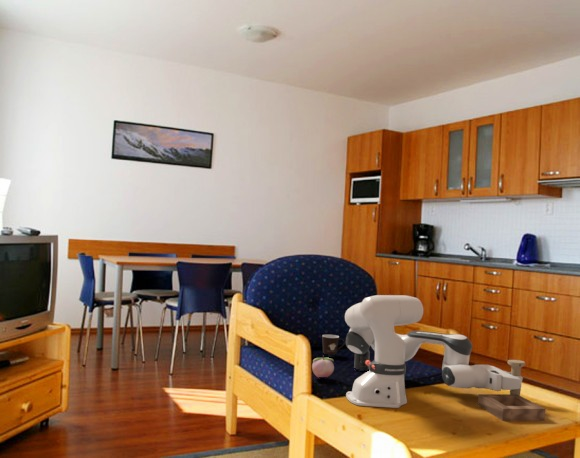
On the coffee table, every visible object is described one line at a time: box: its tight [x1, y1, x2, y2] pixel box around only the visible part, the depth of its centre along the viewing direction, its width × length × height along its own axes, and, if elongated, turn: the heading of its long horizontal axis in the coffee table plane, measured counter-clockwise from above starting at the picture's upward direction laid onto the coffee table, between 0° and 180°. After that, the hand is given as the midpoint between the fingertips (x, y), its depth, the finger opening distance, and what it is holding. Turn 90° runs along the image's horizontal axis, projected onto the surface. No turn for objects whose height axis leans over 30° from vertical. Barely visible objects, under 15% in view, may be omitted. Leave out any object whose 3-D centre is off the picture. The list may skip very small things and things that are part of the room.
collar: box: [477, 393, 546, 422], centre depth 183 cm, size 16×16×4 cm
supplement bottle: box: [353, 349, 371, 370], centre depth 232 cm, size 7×7×12 cm
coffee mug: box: [321, 334, 346, 355], centre depth 256 cm, size 12×9×10 cm
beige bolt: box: [507, 359, 526, 396], centre depth 198 cm, size 5×6×15 cm
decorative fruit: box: [311, 354, 335, 378], centre depth 213 cm, size 9×8×10 cm
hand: (517, 376), depth 199 cm, fingers closed on beige bolt, 3 cm apart
